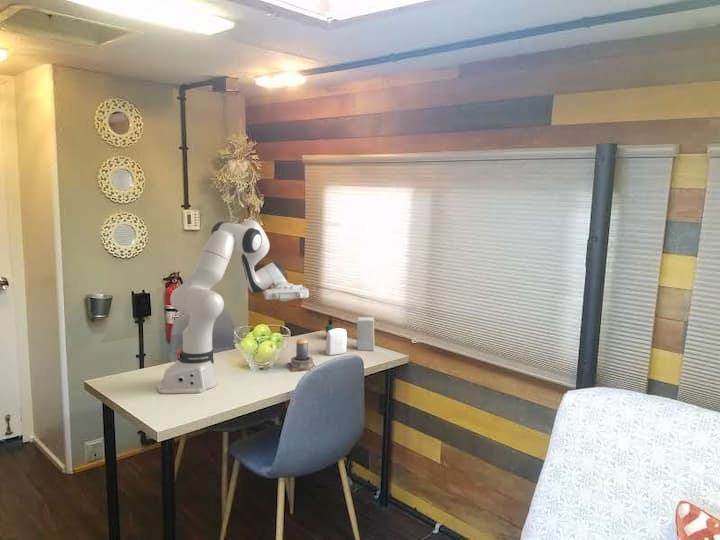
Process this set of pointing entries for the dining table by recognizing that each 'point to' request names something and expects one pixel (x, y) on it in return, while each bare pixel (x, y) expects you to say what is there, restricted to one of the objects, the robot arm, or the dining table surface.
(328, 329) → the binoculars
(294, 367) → the ring socket
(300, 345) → the charcoal canister
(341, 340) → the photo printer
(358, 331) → the skincare box
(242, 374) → the dining table surface
